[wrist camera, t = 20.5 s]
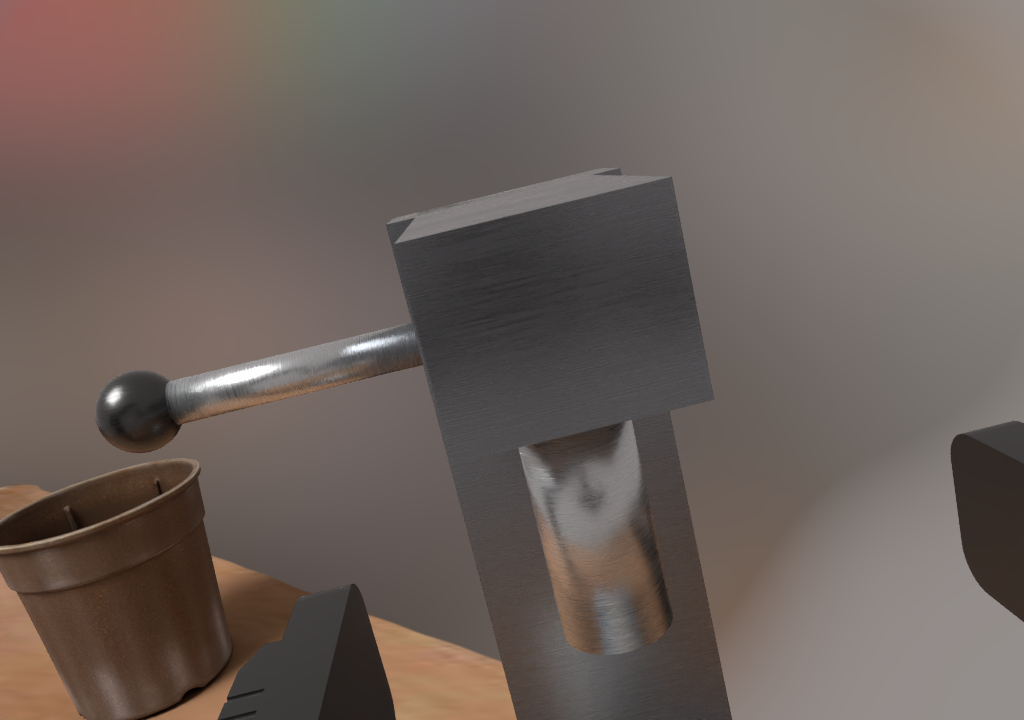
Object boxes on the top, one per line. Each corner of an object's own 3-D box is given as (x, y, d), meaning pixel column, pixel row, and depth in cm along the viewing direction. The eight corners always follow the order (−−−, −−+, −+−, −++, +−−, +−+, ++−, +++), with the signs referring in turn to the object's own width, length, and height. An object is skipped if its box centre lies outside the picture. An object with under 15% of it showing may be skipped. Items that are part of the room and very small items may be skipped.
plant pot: (83, 659, 78) (19, 494, 75) (264, 603, 81) (210, 440, 77) (23, 774, 63) (-61, 571, 59) (250, 699, 65) (182, 501, 62)
